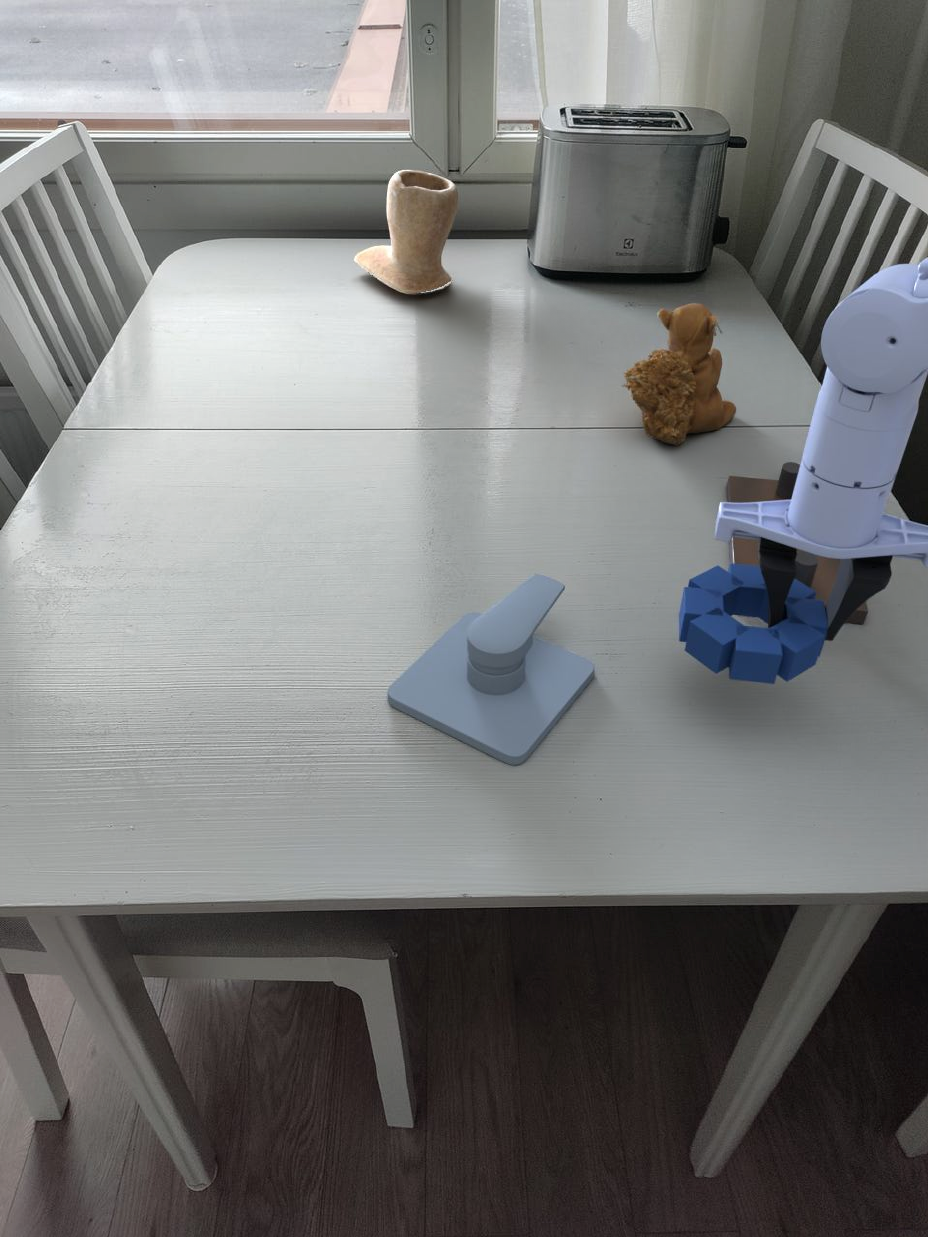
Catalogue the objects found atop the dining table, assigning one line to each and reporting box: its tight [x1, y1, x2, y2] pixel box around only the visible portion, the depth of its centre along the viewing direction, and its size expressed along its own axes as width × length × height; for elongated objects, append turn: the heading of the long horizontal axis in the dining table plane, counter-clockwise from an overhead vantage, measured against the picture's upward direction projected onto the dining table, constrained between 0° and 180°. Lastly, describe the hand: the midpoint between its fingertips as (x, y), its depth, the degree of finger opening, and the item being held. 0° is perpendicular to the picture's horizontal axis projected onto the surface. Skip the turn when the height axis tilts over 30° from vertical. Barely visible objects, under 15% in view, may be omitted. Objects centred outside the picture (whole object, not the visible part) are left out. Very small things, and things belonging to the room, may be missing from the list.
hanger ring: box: [678, 563, 828, 685], centre depth 70 cm, size 10×10×3 cm
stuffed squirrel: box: [621, 302, 737, 446], centre depth 104 cm, size 10×14×13 cm
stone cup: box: [353, 169, 459, 295], centre depth 137 cm, size 15×12×15 cm
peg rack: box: [725, 461, 869, 625], centre depth 89 cm, size 11×20×4 cm, turn 170°
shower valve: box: [387, 573, 595, 766], centre depth 75 cm, size 12×6×15 cm
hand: (800, 627), depth 69 cm, fingers closed on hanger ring, 3 cm apart
